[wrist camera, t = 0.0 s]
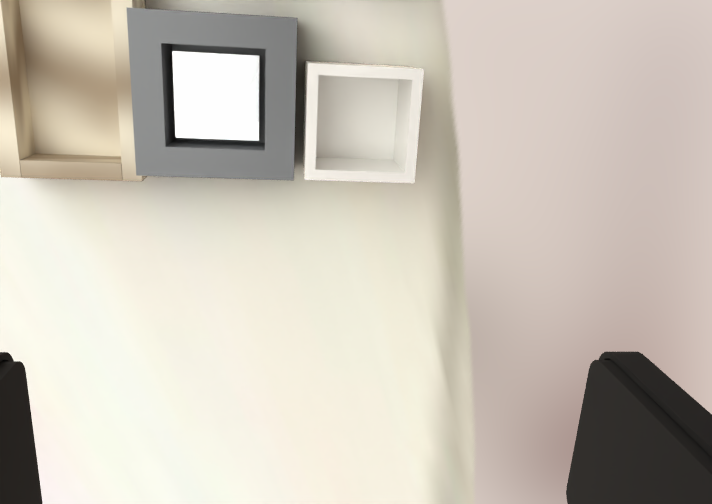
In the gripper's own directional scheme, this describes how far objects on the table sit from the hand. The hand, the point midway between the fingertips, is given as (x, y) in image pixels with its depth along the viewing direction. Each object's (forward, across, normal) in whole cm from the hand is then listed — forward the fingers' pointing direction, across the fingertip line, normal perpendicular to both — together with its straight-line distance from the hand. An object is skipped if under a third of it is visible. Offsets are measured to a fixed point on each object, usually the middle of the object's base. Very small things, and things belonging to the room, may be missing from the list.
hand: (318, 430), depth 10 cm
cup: (+31, -4, -2) cm, 31 cm away
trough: (+31, +13, -4) cm, 34 cm away
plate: (+29, +5, -3) cm, 30 cm away
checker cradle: (+31, +5, -3) cm, 32 cm away
